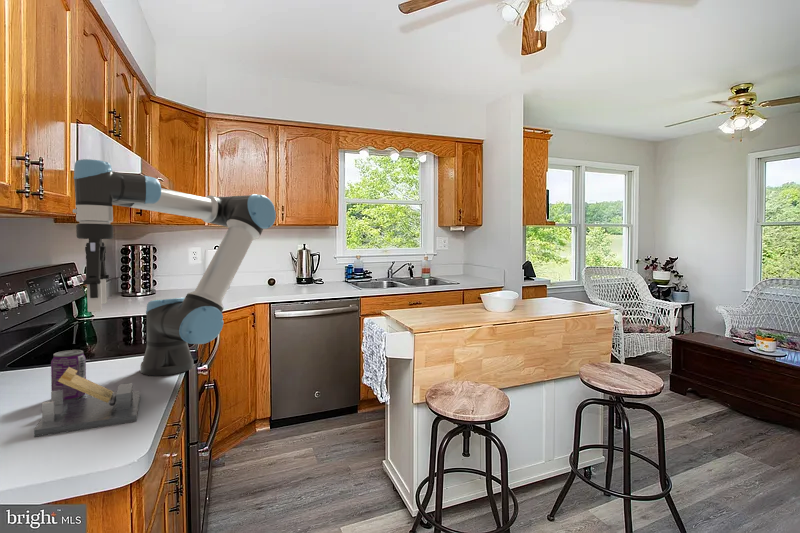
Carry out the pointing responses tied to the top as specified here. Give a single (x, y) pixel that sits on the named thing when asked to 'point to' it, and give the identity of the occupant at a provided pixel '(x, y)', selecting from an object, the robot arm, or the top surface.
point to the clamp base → (87, 412)
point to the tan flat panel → (87, 386)
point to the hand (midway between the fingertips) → (97, 307)
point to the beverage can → (61, 364)
